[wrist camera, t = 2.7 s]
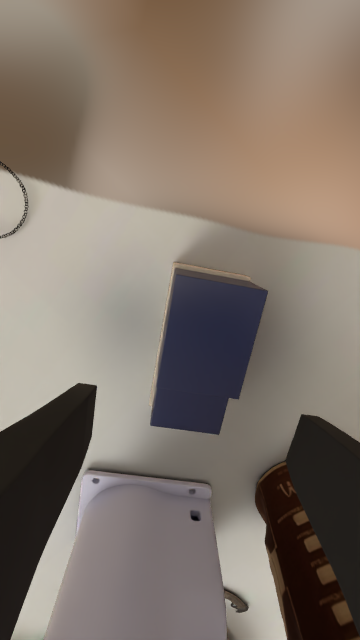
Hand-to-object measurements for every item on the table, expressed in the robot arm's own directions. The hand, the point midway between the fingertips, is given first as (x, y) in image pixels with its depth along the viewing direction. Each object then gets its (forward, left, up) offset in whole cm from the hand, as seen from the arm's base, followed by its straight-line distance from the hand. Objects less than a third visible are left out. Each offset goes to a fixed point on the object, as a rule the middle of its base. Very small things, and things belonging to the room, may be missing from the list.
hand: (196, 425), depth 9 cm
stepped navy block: (-1, 0, -8) cm, 8 cm away
